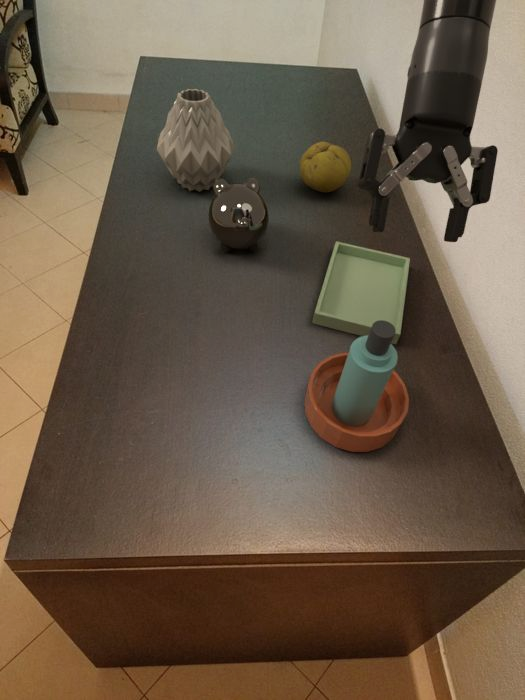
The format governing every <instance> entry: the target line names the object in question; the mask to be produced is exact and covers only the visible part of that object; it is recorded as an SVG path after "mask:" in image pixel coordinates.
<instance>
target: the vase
mask: <svg viewBox="0 0 525 700" xmlns="http://www.w3.org/2000/svg"><path fill="white" fill-rule="evenodd" d="M157 142H158V143H157V147H156V151H157V153H158V155H159V156H160V157H161V159H162V161H163V163H164V165H165V166H166V169H167V170H168V171H169V173H170V174H171V175H172V177H173V179H176V182H177V184H180V185H181V188H182V189H187V190H188V191H190V192H192V191H197V192H201V191H203V190H206V191H209V190H210V189H211V188H213V185H214V182H215V181H216V180H217V179H220V177H222V176H223V175H224V173H225V170H226V167H227V165H228V164H229V162H230V160H231V158H232V155H233V153H234V150H235V148H236V145H235V143H234V141H233V139H232V136H231V134H230V132H229V130H228V129H227V128H226V126H225V124H224V121H223V118H222V115H221V111H219V110H218V108H217V107H216V105H215V102H214V101H213V100H212V99H211V96H210V94H209V92H206V91H204V89H197V88H194V89H191V88H187V89H186V90H185V89H184V90H183V89H181V92H178V93H177V97H176V99H175V101H173V105H172V107H171V109H170V110H169V112H168V113H167V117H166V121H165V125H164V127H163V129H162V130H161V131H160V133H159V136H158V138H157Z"/></svg>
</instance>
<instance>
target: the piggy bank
mask: <svg viewBox="0 0 525 700" xmlns="http://www.w3.org/2000/svg"><path fill="white" fill-rule="evenodd" d="M260 187H261V186H260V183H259V181H258V180H257V179H256V178H254V177H250V178H248V179H247V180H246V182H245V183H239V182H237V183H231V184H230V183H228V182H227V181H226V180H225V179H223V178H219V179H217V180H216V181H215V182H214V185H213V187H212V191H213V198H212V200H211V202H210V205H209V209H208V224H209V227H210V229H211V232H212V233H213V235H214V237H215V238H216V239H217V240H218V241H219V242H220V250H221V251H222V252H223V253H228V252H230V251H231V250H232V249H236V250H243V249H247V250H249V251H250V252H256V251H257V250H258V242H259V241H260V240H261V239H262V238H263V237H264V235H265V234H266V232H267V229H268V226H269V219H270V217H269V210H268V206H267V204H266V202H265V200H264V199H263V197H262V195H261V194H260V190H261V189H260Z"/></svg>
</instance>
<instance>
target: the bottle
mask: <svg viewBox="0 0 525 700" xmlns="http://www.w3.org/2000/svg"><path fill="white" fill-rule="evenodd" d="M395 332H396V331H395V327H394V326H393V325H392V324H391V323H389V322H387V321H384V320H379V321H376V322H374V323H373V325H372V327H371V330H370V333H369V335H367V336H359V337H357V338H356V339H355V340H353V341H352V343H351V345H350V347H349V351H348V352H347V353H348V356H347V359H346V362H345V365H344V368H343V371H342V374H341V377H340V380H339V383H338V386H337V389H336V392H335V395H334V398H333V401H332V411H333V413H334V415H335V416H336V418H337V419H338V420H339V421H341V422H342V423H344V424H346V425H350V426H361V425H364V424H365V423H367V422H368V421H369V420H370V418H371V416H372V414H373V412H374V410H375V408H376V406H377V404H378V402H379V400H380V397H381V395H382V393H383V391H384V389H385V387H386V385H387V383H388V380H389V378H390V376H391V374H392V372H393V370H394V371H395V367H396V366H397V363H398V360H399V359H398V358H399V357H398V356H399V355H398V352H397V349H396V348H395V347H394V344H392V343H391V342H392V339H393V337H394V335H395Z"/></svg>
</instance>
